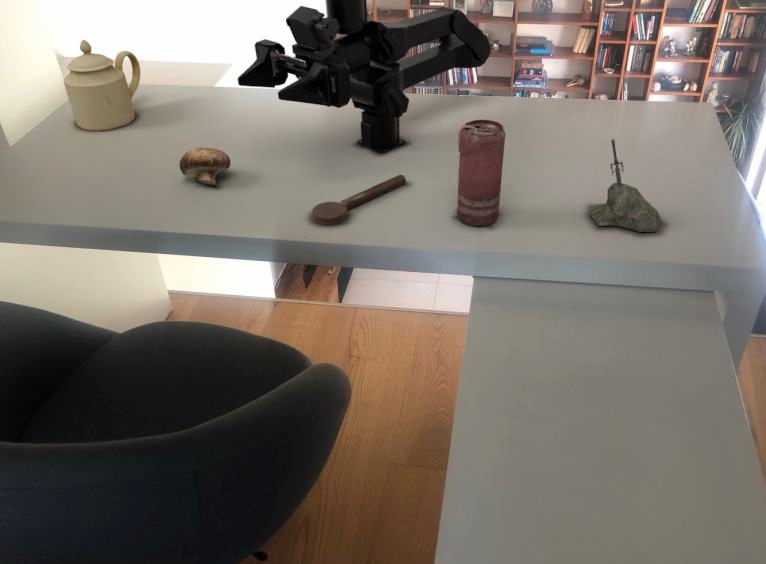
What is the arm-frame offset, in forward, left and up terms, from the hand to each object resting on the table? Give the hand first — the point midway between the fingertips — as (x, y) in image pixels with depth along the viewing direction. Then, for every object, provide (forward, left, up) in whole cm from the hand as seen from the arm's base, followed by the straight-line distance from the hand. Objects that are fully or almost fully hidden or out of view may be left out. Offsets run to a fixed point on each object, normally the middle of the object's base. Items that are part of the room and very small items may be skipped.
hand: (258, 88), depth 100 cm
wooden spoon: (-7, +13, -17) cm, 22 cm away
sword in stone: (-31, +45, -17) cm, 57 cm away
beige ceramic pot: (+3, -50, -17) cm, 53 cm away
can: (-16, +29, -17) cm, 37 cm away
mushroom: (+5, -11, -17) cm, 21 cm away
